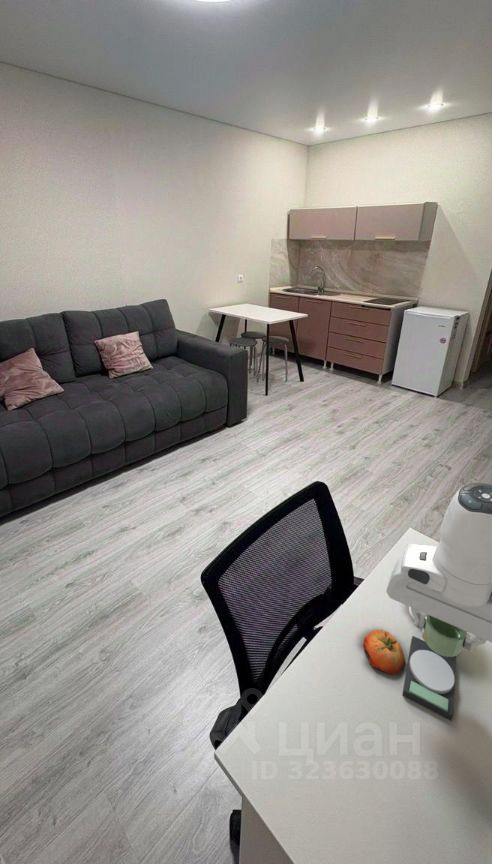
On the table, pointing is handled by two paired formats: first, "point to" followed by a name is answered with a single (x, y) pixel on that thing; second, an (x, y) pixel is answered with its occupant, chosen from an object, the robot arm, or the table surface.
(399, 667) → the tomato
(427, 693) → the scale
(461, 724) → the table surface
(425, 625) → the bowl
